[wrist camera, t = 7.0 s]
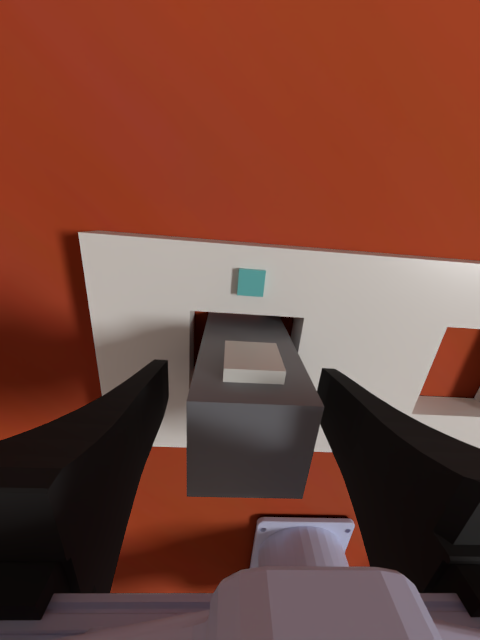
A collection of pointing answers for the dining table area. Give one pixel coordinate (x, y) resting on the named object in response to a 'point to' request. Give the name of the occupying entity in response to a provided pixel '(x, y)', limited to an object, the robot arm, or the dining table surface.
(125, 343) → the panel
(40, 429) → the robot arm
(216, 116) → the dining table surface
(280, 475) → the plug
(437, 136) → the dining table surface
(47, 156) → the dining table surface
